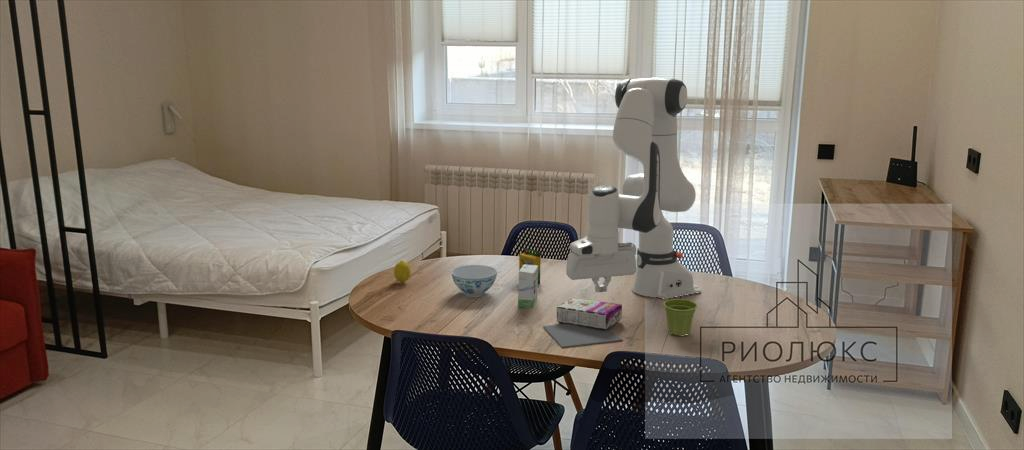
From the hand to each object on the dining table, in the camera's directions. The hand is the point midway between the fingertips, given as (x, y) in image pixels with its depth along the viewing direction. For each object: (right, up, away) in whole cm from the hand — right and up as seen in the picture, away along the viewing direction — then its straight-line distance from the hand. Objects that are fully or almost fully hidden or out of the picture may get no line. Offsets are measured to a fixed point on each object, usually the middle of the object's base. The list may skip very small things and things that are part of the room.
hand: (600, 291), depth 220 cm
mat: (-5, -12, +2) cm, 13 cm away
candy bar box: (+5, -8, +5) cm, 11 cm away
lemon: (-63, -1, +47) cm, 78 cm away
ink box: (-20, -6, +27) cm, 34 cm away
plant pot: (+23, -12, +3) cm, 26 cm away
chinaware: (-38, -4, +36) cm, 52 cm away
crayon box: (-19, -1, +47) cm, 51 cm away
